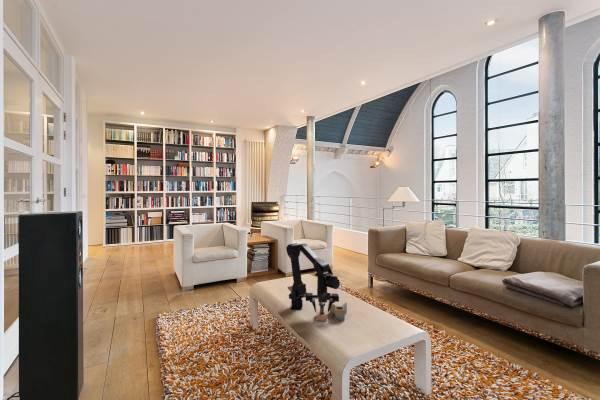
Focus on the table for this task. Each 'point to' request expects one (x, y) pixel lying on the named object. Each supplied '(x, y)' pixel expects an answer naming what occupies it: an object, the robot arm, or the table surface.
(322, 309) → the hinge pin
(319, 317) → the pin holder
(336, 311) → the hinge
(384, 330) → the table surface
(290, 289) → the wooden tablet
